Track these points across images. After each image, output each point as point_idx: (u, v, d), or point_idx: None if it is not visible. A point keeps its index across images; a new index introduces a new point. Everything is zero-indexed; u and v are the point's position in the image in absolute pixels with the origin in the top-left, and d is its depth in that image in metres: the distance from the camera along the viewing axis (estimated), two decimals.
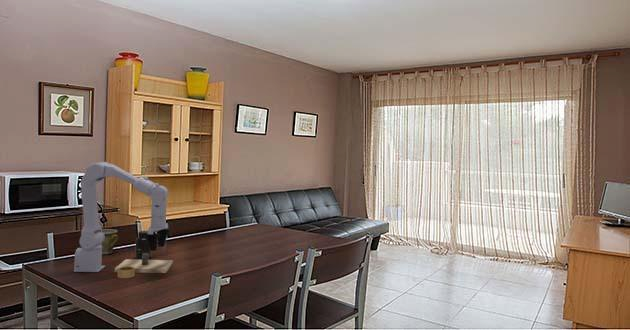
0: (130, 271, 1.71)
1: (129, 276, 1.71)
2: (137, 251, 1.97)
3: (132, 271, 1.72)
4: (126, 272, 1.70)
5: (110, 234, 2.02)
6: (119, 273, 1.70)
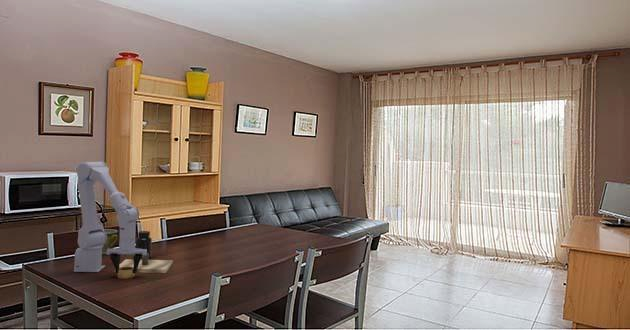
0: (130, 271, 1.71)
1: (129, 276, 1.71)
2: None
3: (132, 271, 1.72)
4: (126, 272, 1.70)
5: (110, 234, 2.02)
6: (119, 273, 1.70)
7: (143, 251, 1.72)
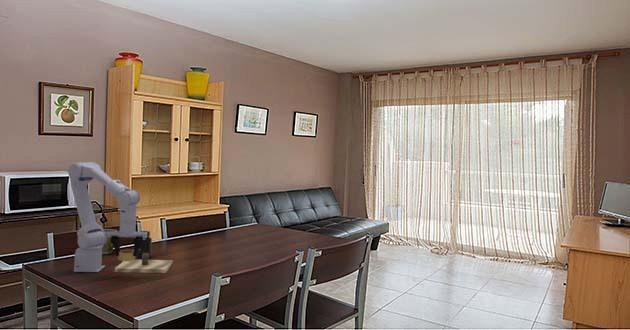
0: (131, 254, 1.71)
1: (129, 259, 1.70)
2: None
3: (133, 254, 1.71)
4: (127, 255, 1.70)
5: None
6: (119, 256, 1.70)
7: (144, 234, 1.72)
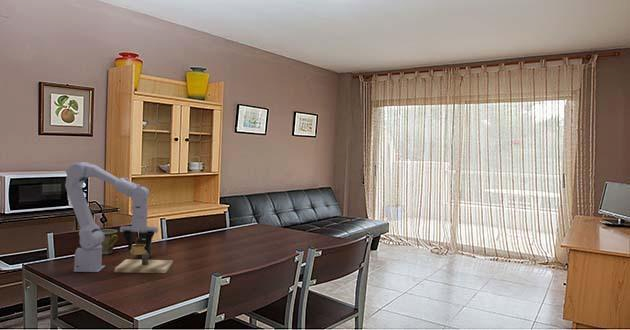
0: (142, 248, 1.78)
1: (141, 252, 1.78)
2: None
3: (144, 248, 1.79)
4: (138, 249, 1.77)
5: (110, 234, 2.02)
6: (132, 249, 1.77)
7: (155, 229, 1.79)
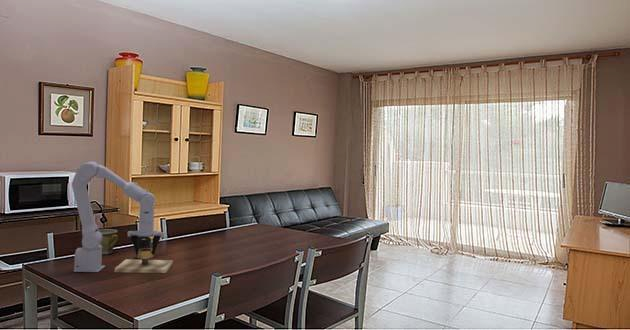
0: (149, 252, 1.83)
1: (148, 256, 1.83)
2: None
3: (151, 252, 1.84)
4: (146, 253, 1.82)
5: (110, 234, 2.02)
6: (139, 254, 1.82)
7: (161, 233, 1.84)
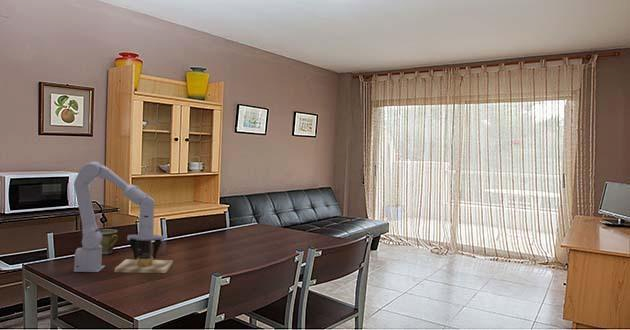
0: (149, 259, 1.83)
1: (148, 264, 1.83)
2: None
3: (151, 259, 1.84)
4: (145, 260, 1.82)
5: (110, 234, 2.02)
6: (139, 261, 1.82)
7: (161, 237, 1.84)
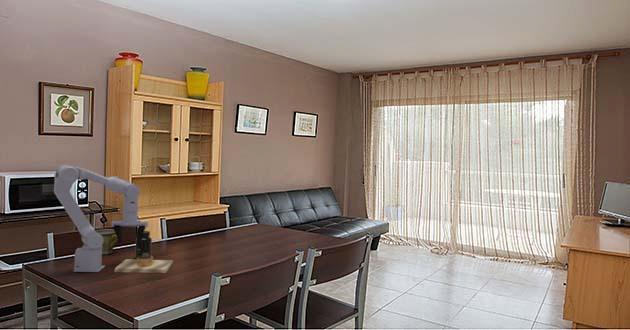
0: (149, 259, 1.83)
1: (148, 264, 1.83)
2: (137, 251, 1.97)
3: (151, 259, 1.84)
4: (145, 260, 1.82)
5: (110, 234, 2.02)
6: (139, 261, 1.82)
7: (145, 223, 1.87)
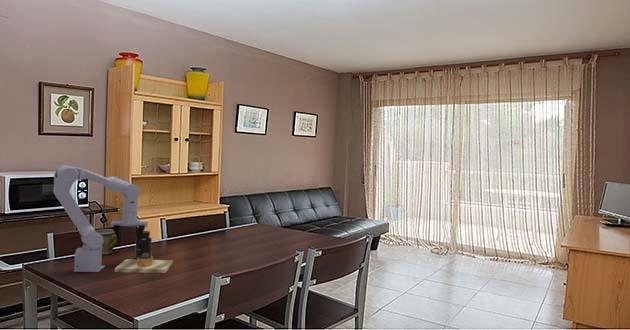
0: (149, 259, 1.83)
1: (148, 264, 1.83)
2: (137, 251, 1.97)
3: (151, 259, 1.84)
4: (145, 260, 1.82)
5: (110, 234, 2.02)
6: (139, 261, 1.82)
7: (145, 223, 1.88)
